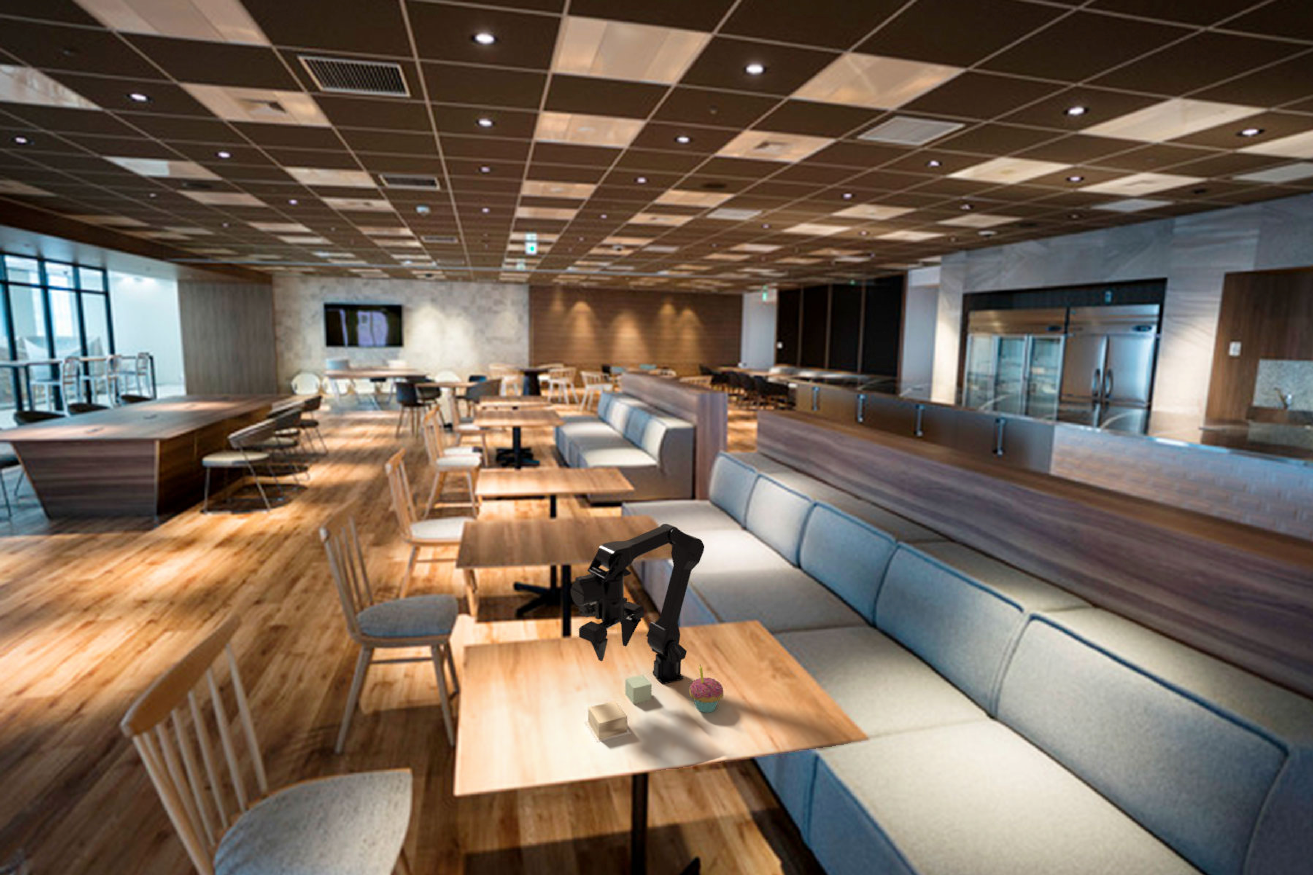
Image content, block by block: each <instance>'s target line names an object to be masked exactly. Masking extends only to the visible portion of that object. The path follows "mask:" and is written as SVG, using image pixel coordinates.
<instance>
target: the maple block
mask: <svg viewBox="0 0 1313 875" xmlns="http://www.w3.org/2000/svg"><path fill="white" fill-rule="evenodd" d="M587 708H588V710H587V712H588V714H587V719H588V720H587V721H588V724H589V725H590V727H591V728H592V730H593V731H594V733H595V734H596V736H597V738H598V739H603V738H607V737H611V736H614V735H618V734H622V733H626V732H627V728H628V715H627V714H626V712H625V711H624V710H623V709H622V707H621V705H620V704H619V703H618V702H617V700H614V701H609V702H605V703H602V704H597V705H594V706H590V707H587Z"/></svg>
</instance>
